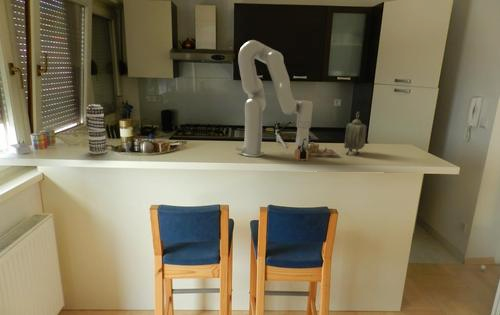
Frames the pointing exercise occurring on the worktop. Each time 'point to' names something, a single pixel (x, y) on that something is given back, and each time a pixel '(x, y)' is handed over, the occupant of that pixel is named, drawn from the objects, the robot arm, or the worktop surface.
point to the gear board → (320, 151)
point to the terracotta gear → (297, 154)
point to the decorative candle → (96, 129)
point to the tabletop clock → (355, 135)
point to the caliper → (280, 140)
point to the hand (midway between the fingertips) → (301, 156)
